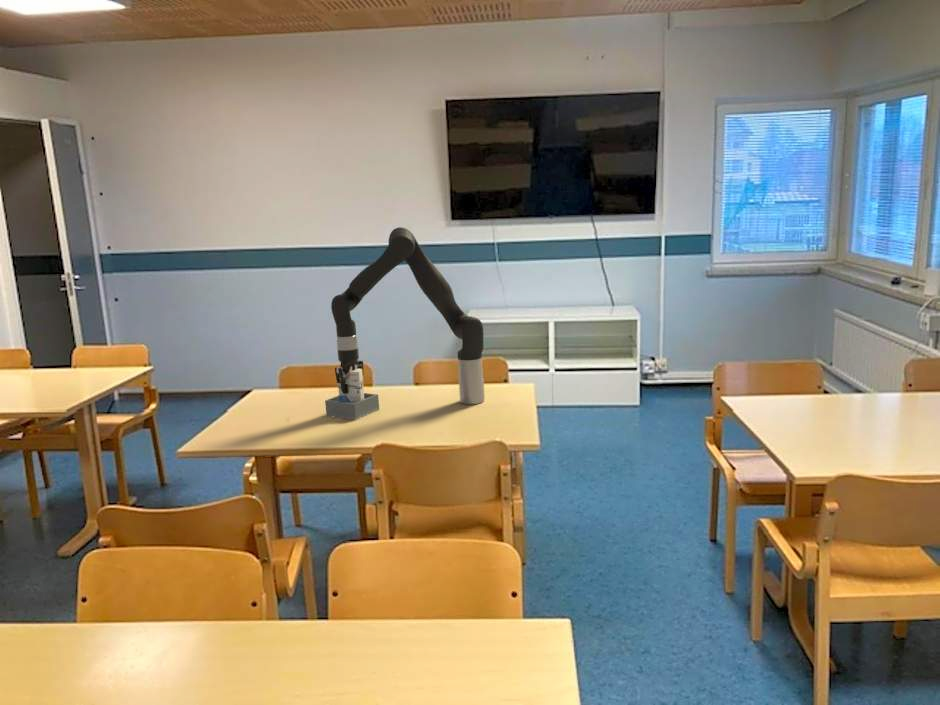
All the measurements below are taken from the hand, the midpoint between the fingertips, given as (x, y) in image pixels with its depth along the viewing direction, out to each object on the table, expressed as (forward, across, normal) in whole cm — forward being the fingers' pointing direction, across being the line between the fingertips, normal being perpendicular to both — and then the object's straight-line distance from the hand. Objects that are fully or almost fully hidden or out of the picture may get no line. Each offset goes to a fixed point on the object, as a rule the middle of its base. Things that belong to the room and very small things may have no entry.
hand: (351, 391), depth 273 cm
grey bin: (+9, 0, 0) cm, 9 cm away
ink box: (+4, 0, 0) cm, 4 cm away
